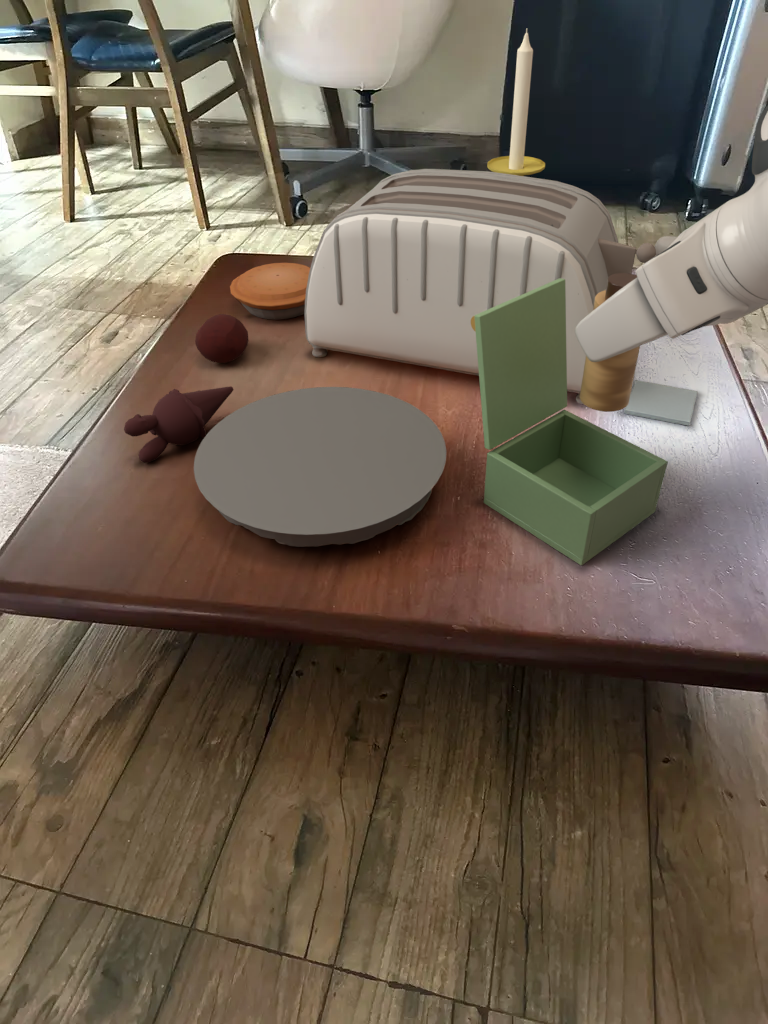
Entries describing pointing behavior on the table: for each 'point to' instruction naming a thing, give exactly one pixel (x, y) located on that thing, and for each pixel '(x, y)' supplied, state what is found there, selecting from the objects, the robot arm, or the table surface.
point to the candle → (519, 121)
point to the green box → (573, 484)
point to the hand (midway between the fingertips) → (610, 334)
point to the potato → (222, 338)
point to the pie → (273, 290)
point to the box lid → (522, 361)
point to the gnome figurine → (176, 419)
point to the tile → (661, 402)
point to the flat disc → (321, 465)
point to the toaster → (456, 264)
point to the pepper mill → (610, 365)
